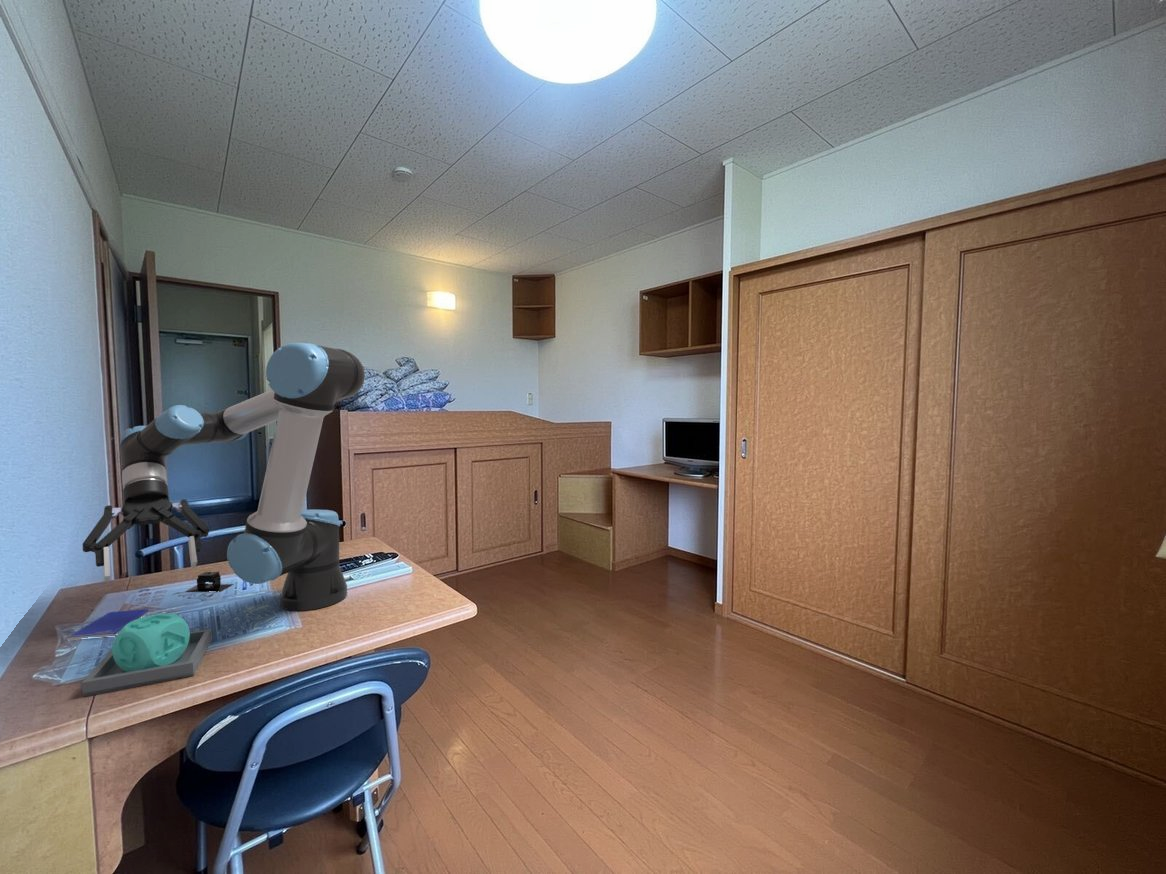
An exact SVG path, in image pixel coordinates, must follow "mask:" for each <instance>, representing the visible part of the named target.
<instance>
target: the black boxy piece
mask: <svg viewBox="0 0 1166 874" xmlns="http://www.w3.org/2000/svg"><path fill="white" fill-rule="evenodd" d="M221 580H222V579H221V575H220V571H213V572H212V571H204V572H202V573H201V574H199V575H197V578H196V585H195V586H193V587H191V588H189V589H188V590H185V591H184V593H210V592H209V591H216V592H215V593H222V592H223V591H224V590H225V591H226V589H229V588H230V587H231V586H232V587H233V586H234V585H235V584H234V583H229V584H228V583H222V582H221ZM221 583H222V584H221ZM218 591H219V592H218Z"/></svg>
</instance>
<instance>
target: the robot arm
mask: <svg viewBox="0 0 1166 874" xmlns="http://www.w3.org/2000/svg"><path fill="white" fill-rule="evenodd" d="M365 373H366V372H365V368H364V366H363V364H362V362H361V361H360V359H359V358H358V357H357V356H356V355H354V354H353V353H351V352H349V351H347V350H346V349H345V350H344V349H341V348H333V347H327V346H323V345H318V344H316V343H315V344H314V343H309V342H290V343H286V344H284V345H283V346H281V347H278V348H277V349H276V350H275V351H274V352H273V353H272V354H271V355H270V357H269V359H268V361H267V364H266V368H265V377H266V380H267V382H269V383H268V386H269V388H270V390H268V391H266V392H265V391H264V392H263V393H261V394H258V395H256V396H253V397H251V398H248V399H246V400H243V401H241V402H239V403H236V404H234V405H231V406H229V407H227V408H225V409H221V410H219V411H216V412H199V411H197V410H196V409H195V408H193V407H189V406H187V405H184V404H183V405H182V404H176V405H173V406H171V407H169V408H168V409H166V410H164V412H161V413H160V414H158V416H157V417H156V418H154V419H153V420H152V421H151V422H150V423H148V424H147V425H137V426H134V427H132V428H127V429H125V430H124V431H123V432H122V433H121V435H120V442H119V452H120V465H121V477H122V489H123V490H122V493H123V494H122V495H123V496H122V497H123V506H122V507H113V506H112V505H109V504H108V505H105V506H104V509H103V514H102V516H101V517H100V519H99V520H98V522H97V523H96V525H94V527H93V529H92V530H91V531H90V533H89V534H88V535H87V537H86V538H85V540H83V542H82V552H84V553H89V552H91V553H94V555H95V556H94V557H95V565H96V567H97V568H98V567H103V573H104V575H103V577H104V579H103V581H104V583H108V582H111V581H110V580H111V566H110V563H111V562H110V547H111V545H112V544H113V543H114V542H116V541H117V540H118V539H119V538H120V537H121V536H122V535H123V534H124V533H126V532H127V530H130V529H131V528H133V526H134V525H138V526H146V525H157V524H159V523H162V524H164V525H166V526H168V527H171V528H173V529H174V530H176V531H177V532H179V533H180V534H183V535H184V536H185V537H187V538H188V551H189V558H190V559H189V561H190V567H191V569H196V568H197V564H198V557H197V553H200V552H201V549H202V538H206V537H208V536H209V533H210V527H209V526H208V525H207V524H206V523H205V522H204V521H203V520H202V519H201V518H200V517H199V516H198V515H197V513H195V512H194V510H192V509H191V507H190V506H189V502H188V500H187V499H186V498H185V499H183V498H182V499H181V500H180V502H179V501H178V502H174V503H172V502H171V501H170V496H169V489H168V488H169V487H168V478H167V471H166V470H167V469H166V457H168V456H169V455H171V454H173V452H175V451H176V450H178V449H179V448H180V447H181V446H187V445H198V444H199V445H200V444H209V443H210V444H212V443H231V442H236V441H240V440H242V439H244V438H246V436H247V435H248V434H249V433H251V432H253V431H255V430H258V429H260V428H264V427H266V426H268V425H270V424H272V423H275V422H276V424H275V428H274V434H273V439H272V443H271V447H270V451H269V455H268V461H267V466H266V469H265V473H264V478H263V483H262V487H261V493H260V497H259V502H258V507H257V511H255V512H253V513H251V514H249V516H248V517H247V519H246V524H245V528H244V532H243V533H240V534H238V535H236V536H235V537H234V538H233V539H231V541H230V542H229V543H228V546H227V549H226V558H227V562H228V565H229V567H230V569H231V570H233V573H234V574H235V575H236V576H237V578H239V579H241V580H242V581H244V582H246V583H249V584H252V585H253V584H254V585H260V584H265V583H268V582H269V581H274V580H276V579H278V578H279V577H281V576H284V575H286V576H285V579H284V583H283V586H282V588H281V592H280V595H279V604H280V607H281V608H282V609H284V610H285V609H286V610H288V611H309V610H316V609H323V608H326V607H329V606H332V605H335V604H337V603H339V602H341V601H342V600H344V599H345V598H346V597H347V596H348V584H347V581H346V579H345V577H344V574H343V571H342V569H341V566H340V527H341V525H340V522H339V521H340V520H339V514H338V512H336V511H334V510H329V509H304V505H305V501H306V497H307V493H308V488H309V487H308V486H309V484H310V479H311V475H312V469H313V466H314V462H315V458H316V457H315V456H316V453H317V448H318V444H319V439H320V435H321V431H322V426H323V421H324V418H325V417H326V416H327V415H329V414H330V413H332V412H334V407H335V404H336V403H337V402H340V401H343V400H345V399H348V398H350V397H351V398H352V397H353V396H354V395H356V394H357V393H358V392H360V390H361V388H362V387H363V385H364V383H365V377H366V375H365ZM172 510H175V511H176V512H177V513H180V514H181V515H182V516H183V517H184V519H185V520H186V521H187V522H188V523H189V524H190V525H189V524H188V523H186V522H185V521H183V520H181V519H180V518H178V517H176V515H174V513H173V512H172ZM118 515H122V516H123V517H124V518H123V519H122V520H121V522H119V523H118V524H117V525H116V526H115V527H114V528H112V530H110V531H109V532H107V534H106V535H105V536H103V537H102V538H101V536H102V535H103V534H104V532H105V530H106V529H108V526H109V525H110V523H111V522H112V519H113V520H114V519H115V518H117V516H118ZM100 538H101V539H100ZM99 539H100V540H99Z"/></svg>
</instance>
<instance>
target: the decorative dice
mask: <svg viewBox="0 0 1166 874" xmlns="http://www.w3.org/2000/svg"><path fill="white" fill-rule="evenodd" d="M190 632H191V631H190V627H189V625H188V623H187V622H186V621H185V619H184V618H183V617H182V616H180V615H179V614H176V613H173V612H172V613H171V612H166V613H165V612H162V613H155V614H151V615H149V614H148V615H146V616H145V617H142V618H139V619H136V620H134V621H131V622H130V623H128V624H126V625H125V626H124V627H123V628H122V629H121V630H120V632H119V633H118V635H117V636H115V637H114V640H113V643H112V648H111V650H112V654H113V658H114V660H115V662H116V664H117V665H118V666H119V667H120V668H121V669H122V670H124V671H126V672H132V671H137V670H143V669H148V668H154V667H159V666H165V665H170V664H172V663H174V662H175V661H176V660H177V659H178V658H179V657H180V656H181V655H182V654H183V653H184V651H185V649H186V648H187V645H188V643H189V639H190Z"/></svg>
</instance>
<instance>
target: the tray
mask: <svg viewBox="0 0 1166 874" xmlns="http://www.w3.org/2000/svg"><path fill="white" fill-rule="evenodd" d="M212 631H213V630H212V628H207V629H201V630H194V631H190V639H189V643H188V645H187V648H186V649H185V651H184V653H183V654H182V655H181V656H180V657H179V658H178V659H177V660H176V661H175V662H174V663H172V664H170V665H165V666H159V667H154V668H148V669H143V670H137V671H132V672H126V671H124V670H122V669H121V668H120V667H119V666H118V665H117V664H116V662H115V660H114V658H113V654H112V649H110V651H109V652H108V653H107V654H106V655H105V656H104V657H103V658H102V660H101V661H100V662H99V663H98V664H97V665H96V667H95V668H94V669H92V671H91V672H90V673H89V674H88V675H87V676H86V677H85V678H84V680H83V681H82V682H81V697H82V698H84V697H85V698H87V697H90V696H96V695H100V694H101V695H102V694H106V693H113V692H117V691H123V690H127V689H132V688H136V687H137V688H138V687H142V686H148V685H154V684H159V683H164V682H169V681H174V680H179V679H184V678H185V679H186V678H189V677H194V676H195V674H196V671H197V670H198V668H199V666H200V664H201V662H202V660H203V659H204V657H205V655H204V654H206V653H205V652H207V651H206V650H208V649H207V648H209V647H210V645H209V644H211V643H212V641H213V633H212ZM211 640H212V641H211ZM210 642H211V643H210ZM208 646H209V647H208Z"/></svg>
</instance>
